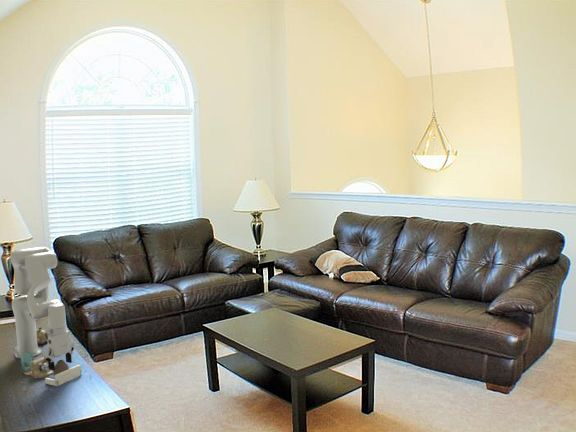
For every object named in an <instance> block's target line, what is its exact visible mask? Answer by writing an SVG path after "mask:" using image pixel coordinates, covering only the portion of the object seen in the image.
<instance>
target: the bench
mask: <svg viewBox="0 0 576 432" xmlns="http://www.w3.org/2000/svg"><path fill="white" fill-rule="evenodd" d="M39 363H48V362H47V361H46V360H45V358H44V357H43V356H42V357H38V358H37V359H33V361H32V362H31V368H30V369H28V370H25V371H24V372H23V374H24V375H27V376H32V377H31V378H35V379H37V378H41V379H45V378H47V377H48V376H51V375H54V374H53V371H52V370H49V369H48V371H46V372H44V371H42V370H39Z"/></svg>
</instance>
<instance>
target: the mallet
mask: <svg viewBox="0 0 576 432" xmlns="http://www.w3.org/2000/svg"><path fill="white" fill-rule="evenodd" d="M32 361H34V357H33V354H32V352H27V353H24V354H22V355H21V358H20V364H21V370H22V371H24V372H26V371H29V370H31V362H32ZM48 369H49V366H48V363H42V362H41V363H39V370H42V371H44V372H46V371H48Z"/></svg>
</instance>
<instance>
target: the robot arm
mask: <svg viewBox="0 0 576 432" xmlns="http://www.w3.org/2000/svg"><path fill="white" fill-rule="evenodd" d="M9 255H10V264H11V265H12V268H13V271H14V272H13V273H14V274H13V275H14V291H15V293H16V294H17V295H19V296H17V297H14V298H13V299H12V301H11V309H12V312H13V315H14V323H15V332H16V342H17V345H16V346H15V347H14V350H16V351H17V352H16V353H14V356H15V358H17V359H21V355H22V354H24V353H27V352H32V354H33V358H34V357H37V356H39V355H40V354H42V357H44V358H45V360H46V361H47V362H48V366H49V370H51V371H53V370H55V365H56V364H55V361H54V360H55V358H58V357H61V356H63V355H65V363H69V364H71V363H73V361H72V354H73V351H74V349H75V346H76V342H72V341H71V336H70V333H69V331H68V330H67V319H66V307H65V304H64V303H63V302H62V301H61V300H60V299H55V298H54V299H51V300H50V299H49V285H50V283H51V281H52V279H51V276H50V273H49V270H52V269H55V268H56V267H57V266H58V258H57V255H56V254H55V252H54V251H52V250H51V249H50V248H48V247H47V246H37V247H30V248H29V247H28V248H21V249H17V250H13V251H12V252H11V253H10V254H9ZM46 318H47V322H48V323H47V324H48V330H47V331H48V332H47V333H48V334H49V335H48V341H47V350H45V352H44V353H42V349H40V348H39V346H38V345H39V343H38V342H37V333H36V329H37V324H36V322H37V321H36V320H41V319H46Z"/></svg>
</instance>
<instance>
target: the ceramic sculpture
mask: <svg viewBox="0 0 576 432" xmlns="http://www.w3.org/2000/svg"><path fill="white" fill-rule="evenodd" d="M48 331H49V330H47V329H44V328H43V327H38V328H36V333H37V344H38V345H43V344H44V343H46V342H48V335H49V334H48V333H47V332H48Z"/></svg>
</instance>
